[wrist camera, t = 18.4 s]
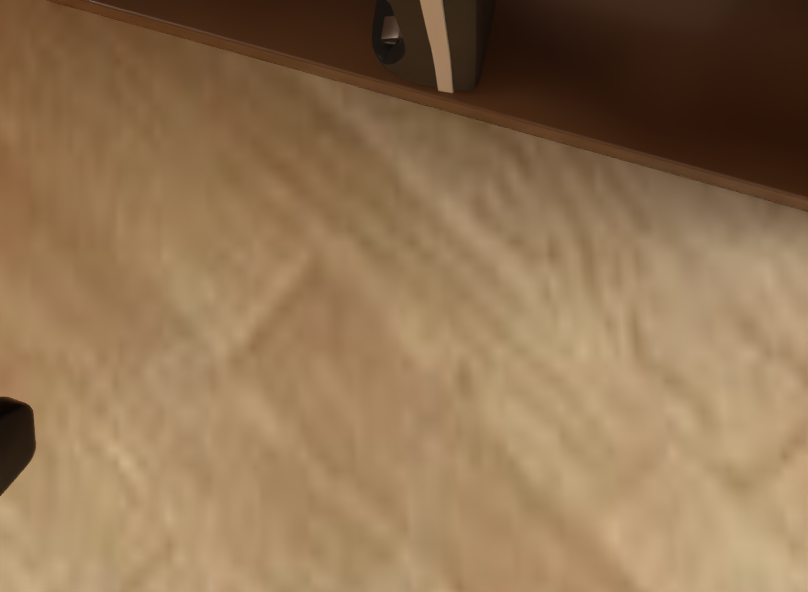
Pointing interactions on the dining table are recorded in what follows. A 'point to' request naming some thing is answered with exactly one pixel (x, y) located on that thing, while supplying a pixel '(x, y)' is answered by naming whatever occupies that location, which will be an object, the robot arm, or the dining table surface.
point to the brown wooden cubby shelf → (570, 74)
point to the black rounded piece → (433, 40)
